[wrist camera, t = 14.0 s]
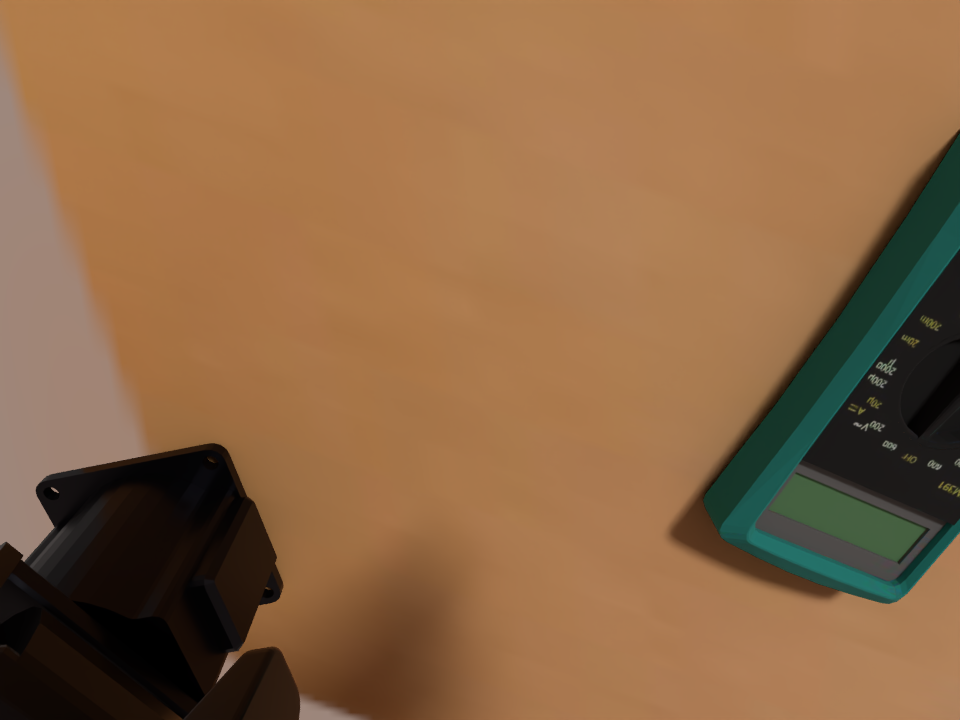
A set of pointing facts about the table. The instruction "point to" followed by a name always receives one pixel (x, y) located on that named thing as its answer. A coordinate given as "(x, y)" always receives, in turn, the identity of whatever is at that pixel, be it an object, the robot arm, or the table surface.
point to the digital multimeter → (866, 425)
